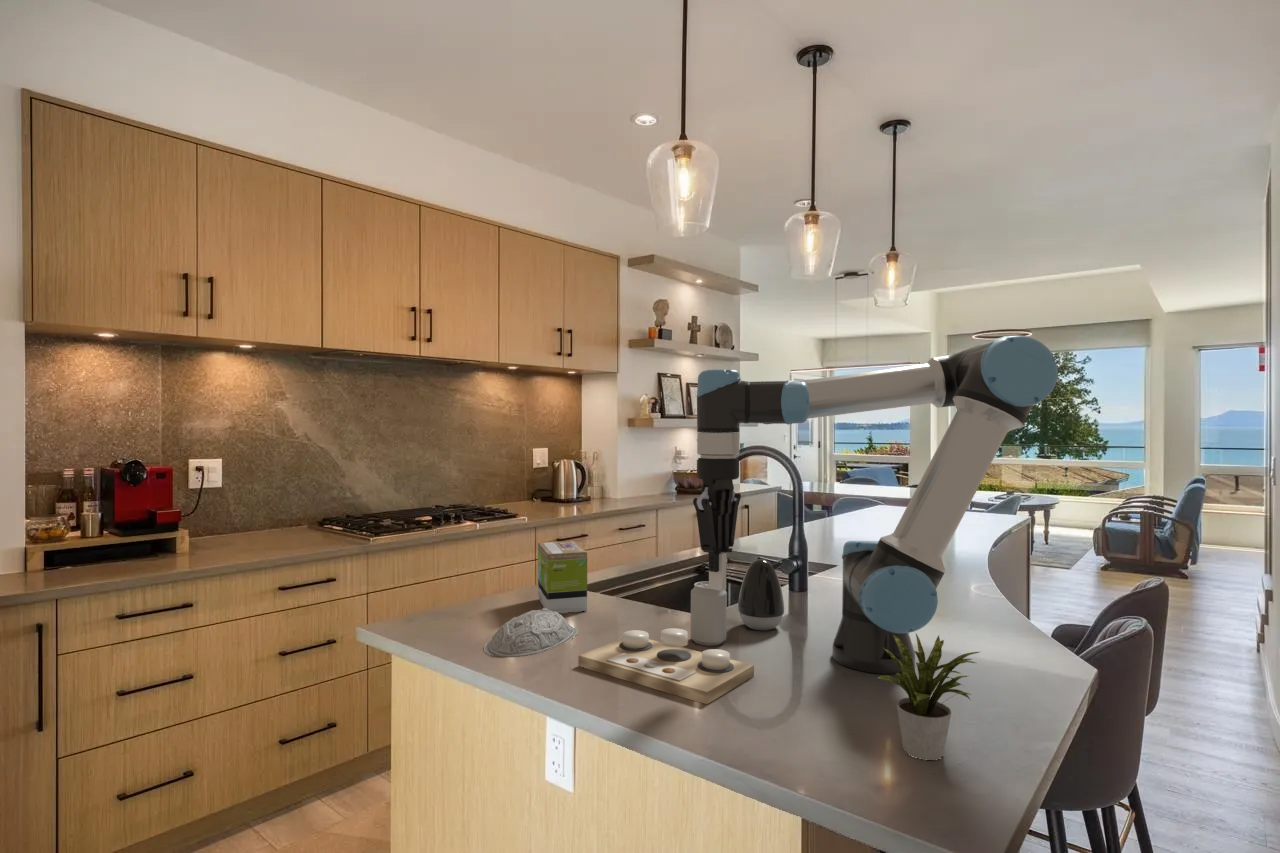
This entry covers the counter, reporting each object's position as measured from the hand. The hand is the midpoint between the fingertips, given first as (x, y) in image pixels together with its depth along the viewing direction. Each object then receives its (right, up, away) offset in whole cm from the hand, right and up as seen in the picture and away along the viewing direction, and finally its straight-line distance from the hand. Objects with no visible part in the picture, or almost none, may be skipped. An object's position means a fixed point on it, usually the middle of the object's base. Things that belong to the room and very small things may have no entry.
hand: (717, 588), depth 124 cm
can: (0, -16, +21) cm, 26 cm away
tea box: (-33, -16, +48) cm, 60 cm away
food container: (-36, -16, +21) cm, 45 cm away
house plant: (+26, -17, -28) cm, 42 cm away
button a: (0, -14, 0) cm, 14 cm away
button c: (-15, -13, +11) cm, 23 cm away
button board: (-9, -16, +3) cm, 19 cm away
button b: (-7, -11, +6) cm, 15 cm away
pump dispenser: (+13, -16, +31) cm, 38 cm away
